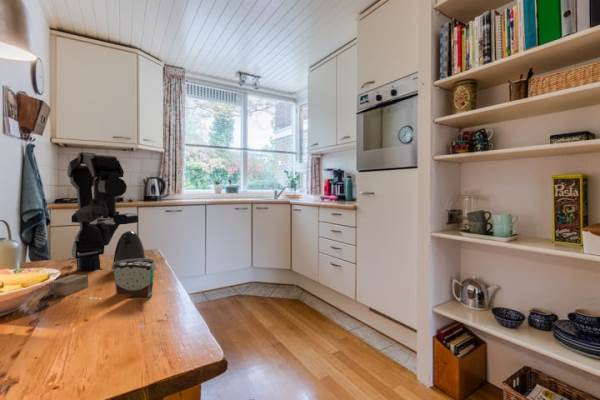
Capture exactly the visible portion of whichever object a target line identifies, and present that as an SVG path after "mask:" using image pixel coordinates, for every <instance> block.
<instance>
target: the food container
mask: <svg viewBox="0 0 600 400" xmlns="http://www.w3.org/2000/svg"><path fill="white" fill-rule="evenodd" d="M157 267H158V266H157V264H156V262H155V260H154V259H152V258H137V259H127V260H121V261H117V262H113V261H112V265H111V268H110V269H111V271H113V277H114V285H115V294H116V295H130V296H128V297H126V299H133V300H134V299H135V300H150V299H151V298H152V296H153V285H154V275H155V271H156V270H157Z"/></svg>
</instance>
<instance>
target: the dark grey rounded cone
mask: <svg viewBox="0 0 600 400" xmlns="http://www.w3.org/2000/svg"><path fill="white" fill-rule="evenodd" d="M137 258H146V253H145V248H144V245H143V242H142V240H141V239H140V236H139V235H138V234H137V233H136V232H135V231H131V230H128V231H124V232H123V233H122V234H121V235H120V236H119V238H118V240H117V243H116V246H115V248H114V254H113V260H112V263H113V262H117V261H121V260H127V259H137Z"/></svg>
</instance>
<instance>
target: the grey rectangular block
mask: <svg viewBox="0 0 600 400" xmlns="http://www.w3.org/2000/svg"><path fill="white" fill-rule="evenodd" d="M50 282H51V283H50ZM50 282H49V291H50V293H49V294H50V295H52V296H55V295H58V296H68V295H71V294H74V293H77V292H78V291H81V290H84V289H86V288H88V287H89V275H87V274H71V275H68V276H65V277H60V278H58V279H56V280H52V281H50Z"/></svg>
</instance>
